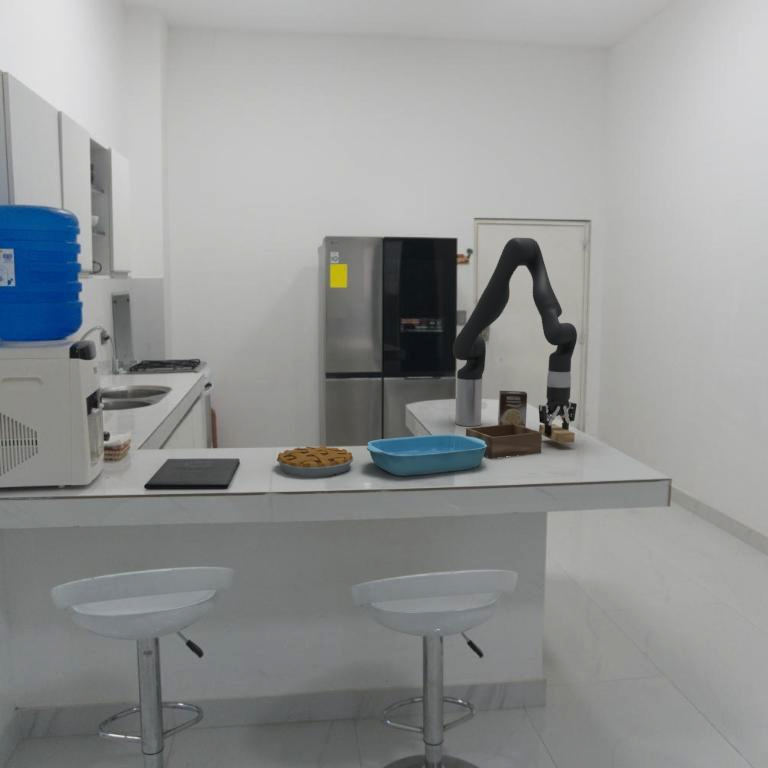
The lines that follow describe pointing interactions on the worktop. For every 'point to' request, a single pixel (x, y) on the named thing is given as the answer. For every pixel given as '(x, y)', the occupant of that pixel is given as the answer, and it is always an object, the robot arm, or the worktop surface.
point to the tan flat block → (558, 434)
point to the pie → (315, 461)
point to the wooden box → (507, 440)
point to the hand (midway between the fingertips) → (556, 435)
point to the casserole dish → (427, 454)
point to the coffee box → (512, 408)
